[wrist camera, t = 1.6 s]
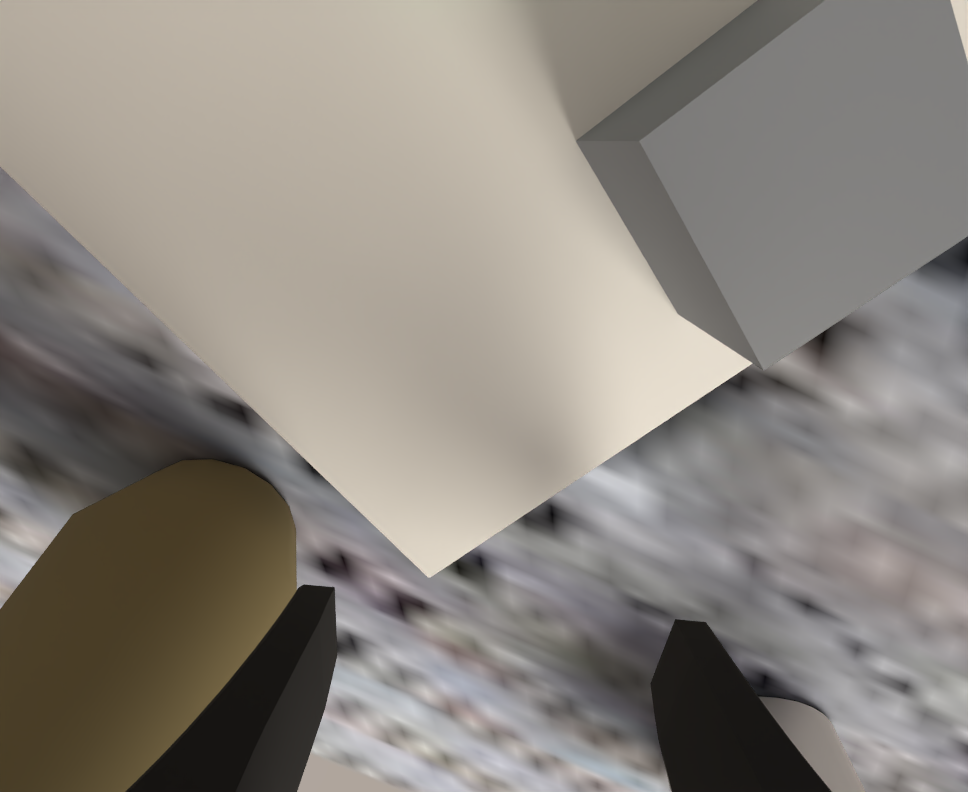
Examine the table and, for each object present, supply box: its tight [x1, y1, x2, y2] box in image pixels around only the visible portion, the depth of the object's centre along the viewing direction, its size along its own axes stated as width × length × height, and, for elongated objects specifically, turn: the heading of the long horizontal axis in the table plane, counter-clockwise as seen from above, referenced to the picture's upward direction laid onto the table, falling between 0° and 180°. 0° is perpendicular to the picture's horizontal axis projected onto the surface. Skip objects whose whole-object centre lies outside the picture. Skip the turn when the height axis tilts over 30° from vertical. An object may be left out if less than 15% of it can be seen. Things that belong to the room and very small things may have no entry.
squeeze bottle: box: [0, 459, 297, 792], centre depth 15 cm, size 8×8×18 cm
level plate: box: [0, 0, 968, 578], centre depth 9 cm, size 13×20×4 cm, turn 126°
